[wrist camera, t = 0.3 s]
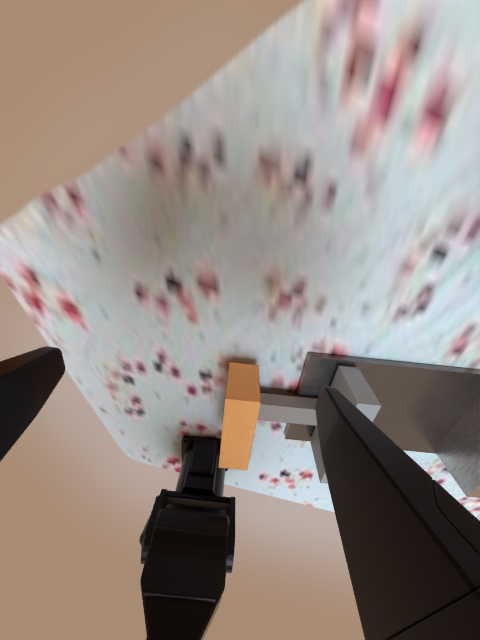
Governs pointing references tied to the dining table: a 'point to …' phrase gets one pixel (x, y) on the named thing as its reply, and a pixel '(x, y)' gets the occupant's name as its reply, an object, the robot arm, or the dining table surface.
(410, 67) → the dining table surface
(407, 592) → the robot arm
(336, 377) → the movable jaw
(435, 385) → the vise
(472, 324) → the dining table surface
